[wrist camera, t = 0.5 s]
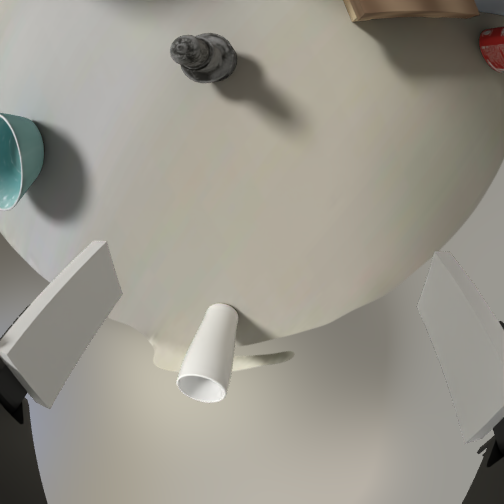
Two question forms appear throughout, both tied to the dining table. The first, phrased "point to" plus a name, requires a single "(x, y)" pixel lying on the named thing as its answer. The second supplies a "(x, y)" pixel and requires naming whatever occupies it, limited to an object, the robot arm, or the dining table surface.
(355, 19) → the battens
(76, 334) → the robot arm
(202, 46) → the salt shaker
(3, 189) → the bowl
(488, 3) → the peg cradle
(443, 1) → the shelf board
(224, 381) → the drinking glass
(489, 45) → the beverage can
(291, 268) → the dining table surface
